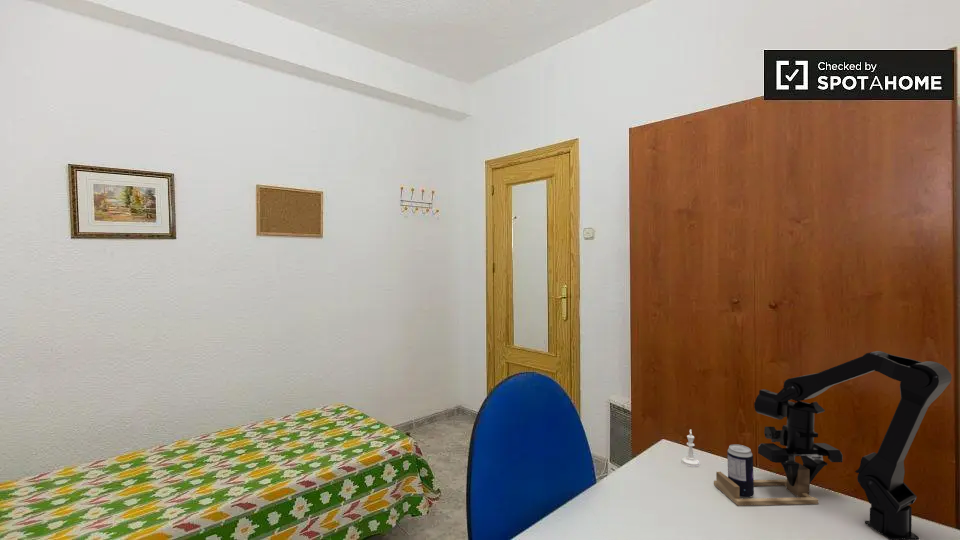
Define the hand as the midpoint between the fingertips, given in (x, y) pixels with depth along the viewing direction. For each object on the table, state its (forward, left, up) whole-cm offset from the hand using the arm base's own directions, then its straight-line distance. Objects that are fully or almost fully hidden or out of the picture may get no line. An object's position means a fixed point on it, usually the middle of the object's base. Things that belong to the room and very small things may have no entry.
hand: (798, 485), depth 114 cm
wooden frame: (+9, 0, -2) cm, 9 cm away
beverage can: (+15, 0, -2) cm, 16 cm away
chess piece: (+19, -19, -2) cm, 27 cm away
